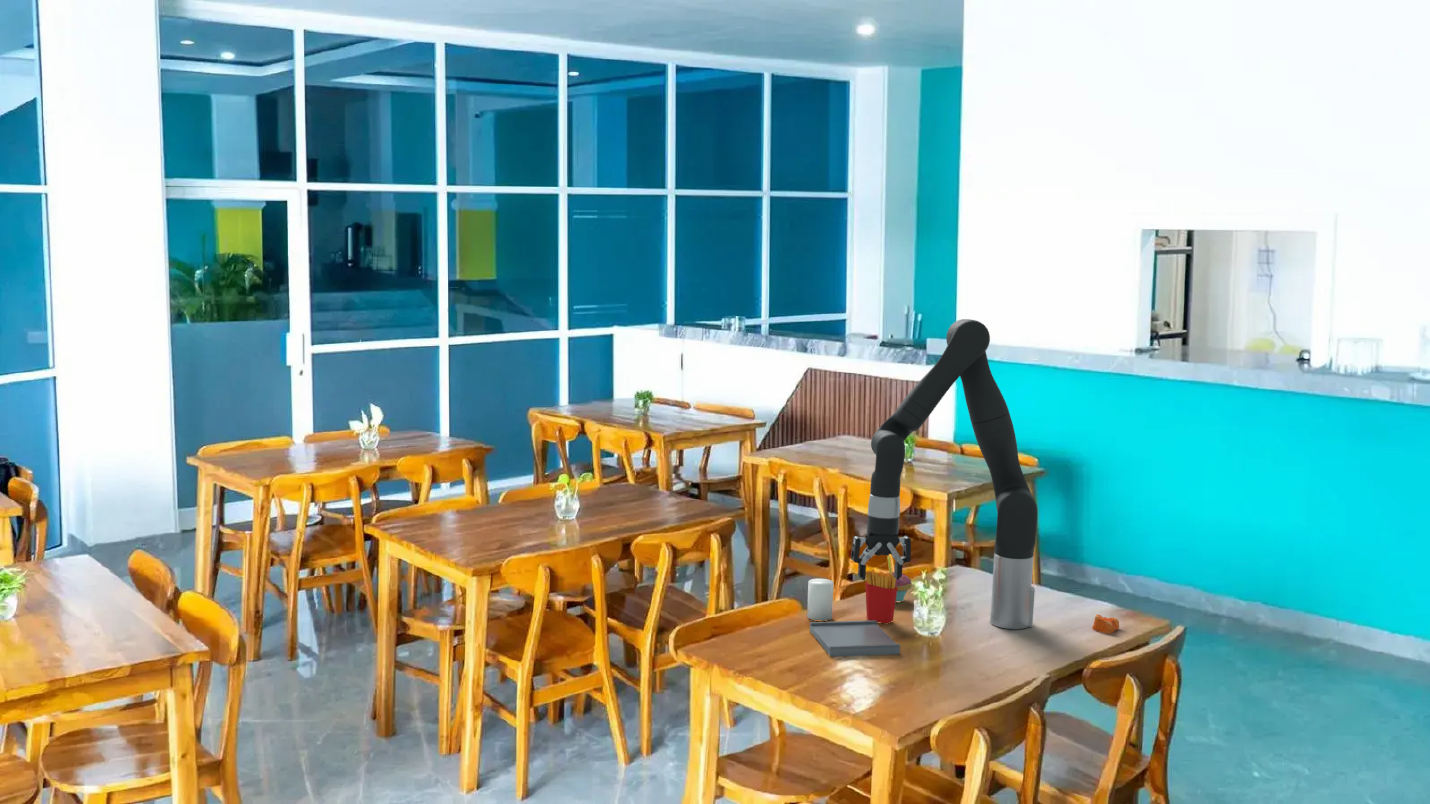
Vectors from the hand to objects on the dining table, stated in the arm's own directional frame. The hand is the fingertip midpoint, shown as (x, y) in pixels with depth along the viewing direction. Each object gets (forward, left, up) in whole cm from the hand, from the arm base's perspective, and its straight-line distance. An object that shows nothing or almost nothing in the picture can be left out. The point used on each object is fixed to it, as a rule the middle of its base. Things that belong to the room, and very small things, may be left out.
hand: (879, 579), depth 319 cm
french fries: (0, 0, -10) cm, 10 cm away
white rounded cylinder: (+14, -3, -10) cm, 17 cm away
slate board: (+11, +16, -10) cm, 22 cm away
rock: (-53, +13, -11) cm, 56 cm away
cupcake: (-9, -16, -10) cm, 21 cm away
